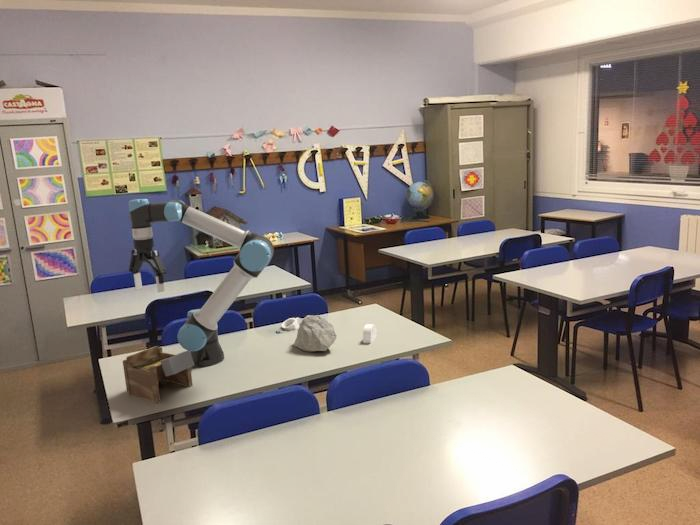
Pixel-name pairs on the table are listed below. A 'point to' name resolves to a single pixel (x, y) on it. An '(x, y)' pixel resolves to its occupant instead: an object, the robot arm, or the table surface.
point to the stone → (149, 361)
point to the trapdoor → (175, 363)
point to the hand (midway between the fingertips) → (149, 290)
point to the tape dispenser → (369, 333)
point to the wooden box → (150, 375)
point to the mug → (291, 324)
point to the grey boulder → (315, 334)
